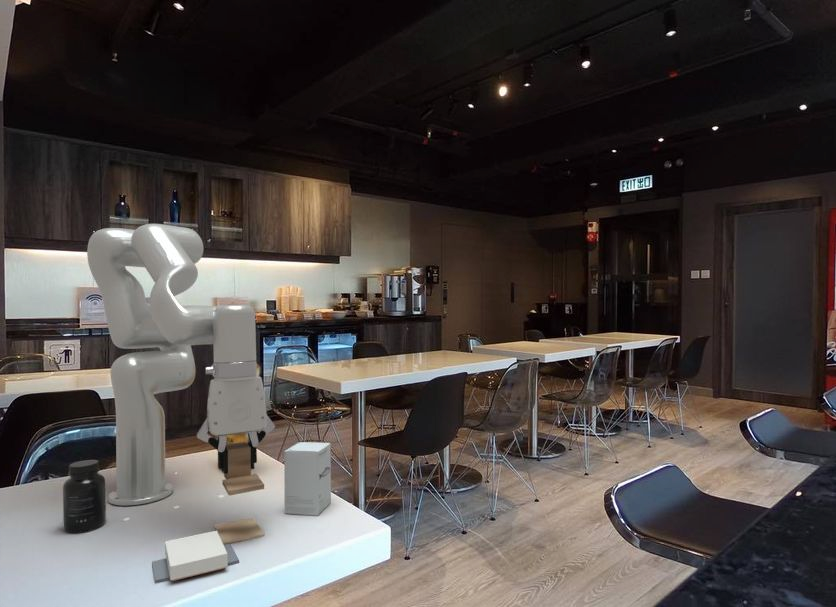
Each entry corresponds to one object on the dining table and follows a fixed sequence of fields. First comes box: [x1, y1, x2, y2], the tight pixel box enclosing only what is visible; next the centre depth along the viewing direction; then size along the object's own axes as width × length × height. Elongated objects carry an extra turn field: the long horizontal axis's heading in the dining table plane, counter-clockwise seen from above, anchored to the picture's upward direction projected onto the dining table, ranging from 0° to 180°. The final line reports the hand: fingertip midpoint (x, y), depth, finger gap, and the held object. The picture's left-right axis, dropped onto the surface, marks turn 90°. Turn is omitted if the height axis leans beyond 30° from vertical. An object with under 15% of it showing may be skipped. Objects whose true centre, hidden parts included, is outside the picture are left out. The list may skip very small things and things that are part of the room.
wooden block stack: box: [221, 442, 265, 496], centre depth 95 cm, size 10×6×6 cm, turn 30°
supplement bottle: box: [62, 459, 107, 534], centre depth 99 cm, size 7×7×12 cm
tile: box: [164, 530, 229, 582], centre depth 83 cm, size 2×8×10 cm
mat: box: [151, 543, 240, 584], centre depth 83 cm, size 7×12×1 cm, turn 120°
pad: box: [214, 516, 265, 545], centre depth 96 cm, size 9×7×1 cm
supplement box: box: [283, 441, 332, 517], centre depth 107 cm, size 7×7×13 cm
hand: (237, 468), depth 97 cm, fingers closed on wooden block stack, 4 cm apart
